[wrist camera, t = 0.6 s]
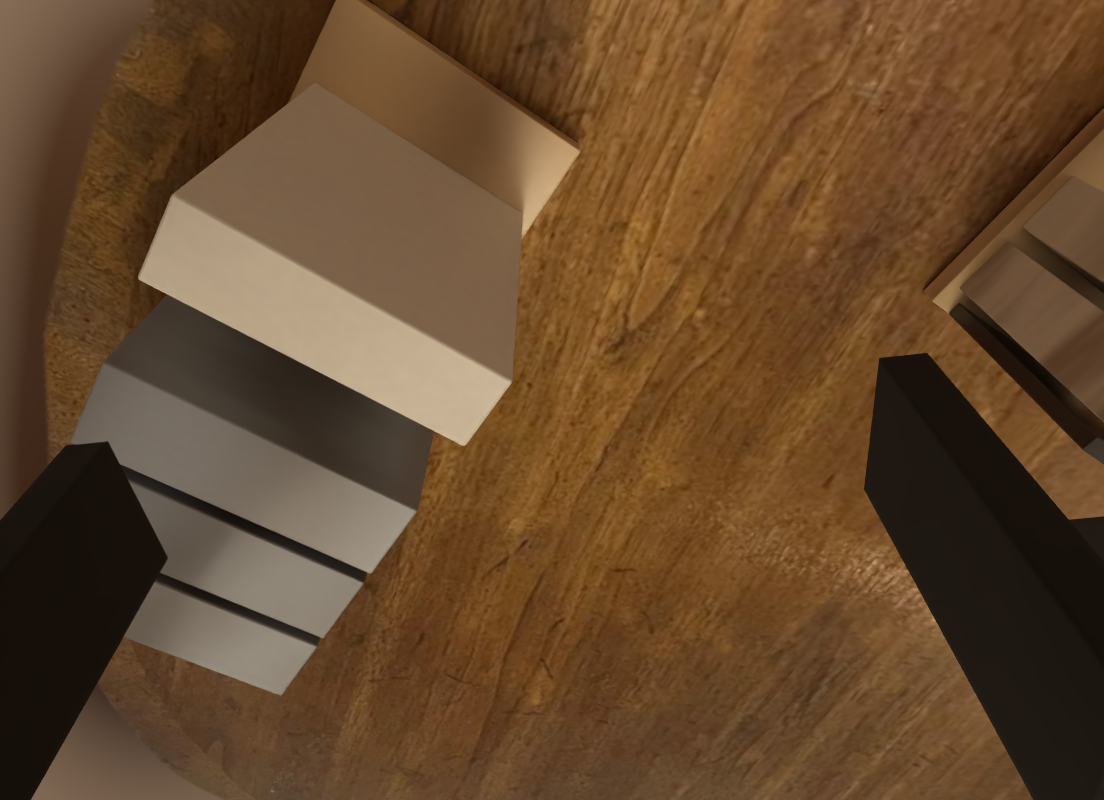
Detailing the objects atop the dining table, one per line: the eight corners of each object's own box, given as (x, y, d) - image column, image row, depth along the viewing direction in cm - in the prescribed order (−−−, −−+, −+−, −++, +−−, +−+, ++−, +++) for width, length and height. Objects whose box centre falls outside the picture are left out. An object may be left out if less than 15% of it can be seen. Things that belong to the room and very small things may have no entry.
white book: (286, 140, 30) (135, 279, 19) (314, 81, 29) (171, 193, 18) (491, 263, 32) (464, 447, 21) (524, 213, 31) (513, 381, 20)
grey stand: (166, 374, 36) (-17, 603, 24) (346, -14, 28) (201, 47, 16) (363, 469, 39) (285, 714, 27) (580, 144, 31) (602, 294, 19)
